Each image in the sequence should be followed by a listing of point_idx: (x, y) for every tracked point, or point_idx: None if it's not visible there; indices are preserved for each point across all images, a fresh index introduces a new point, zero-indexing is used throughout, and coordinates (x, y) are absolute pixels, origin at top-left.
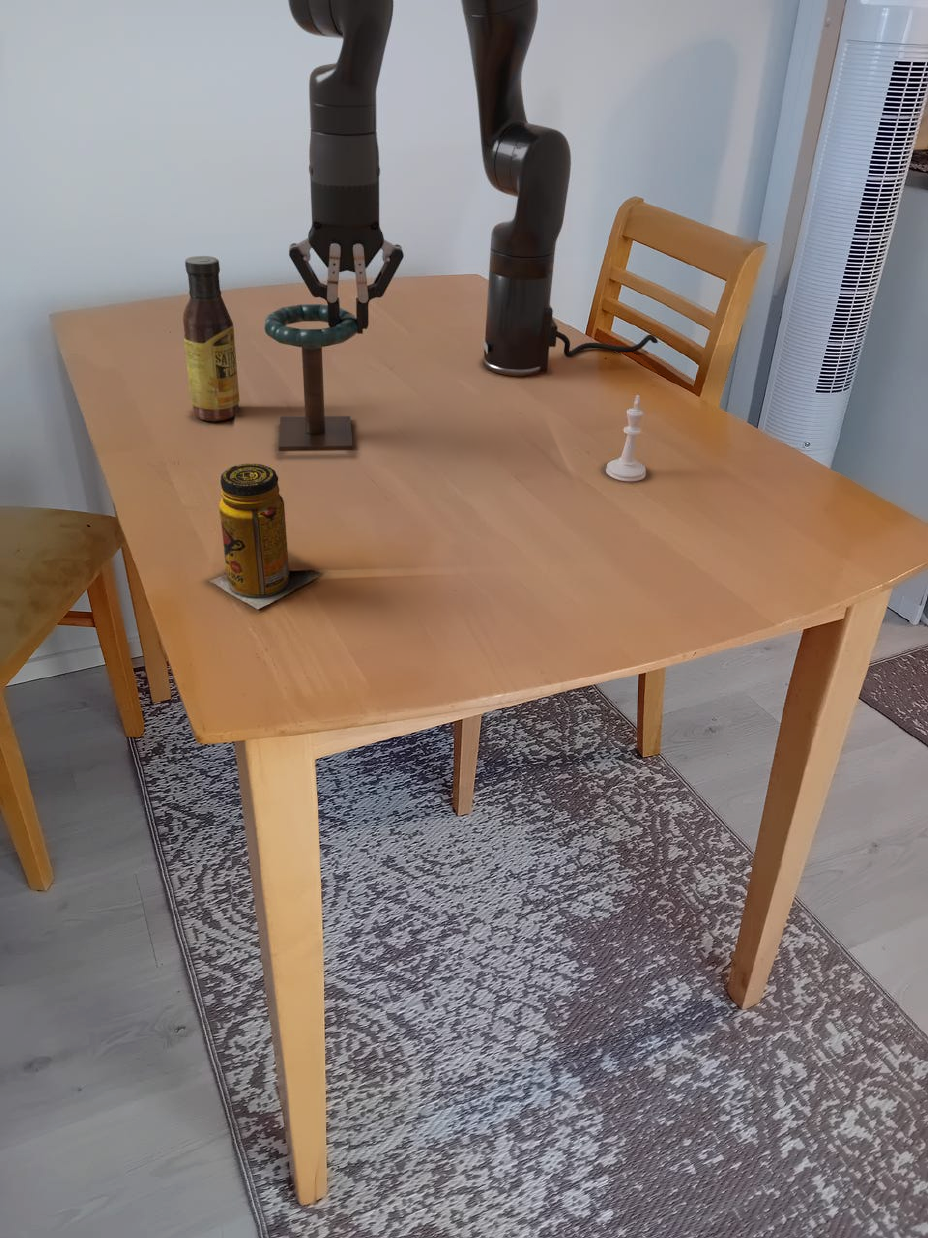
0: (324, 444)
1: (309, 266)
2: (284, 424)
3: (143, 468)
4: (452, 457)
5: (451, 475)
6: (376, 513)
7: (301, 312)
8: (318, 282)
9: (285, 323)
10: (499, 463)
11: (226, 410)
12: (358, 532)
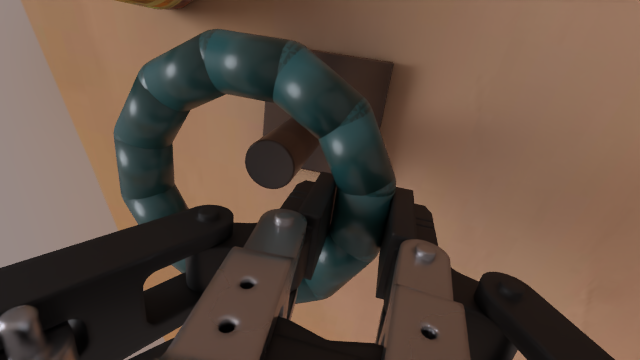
0: (327, 169)
1: (112, 315)
2: None
3: (111, 144)
4: (525, 214)
5: (494, 262)
6: (363, 311)
7: (215, 95)
8: (206, 252)
9: (179, 129)
10: (593, 250)
11: (179, 3)
12: (336, 334)
